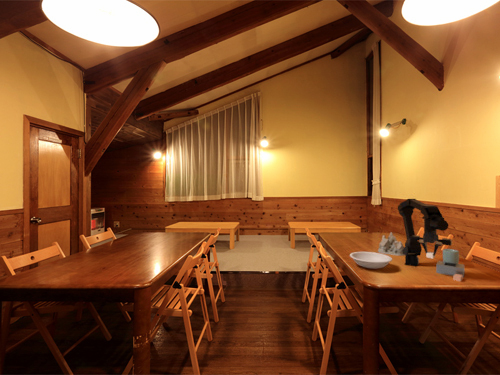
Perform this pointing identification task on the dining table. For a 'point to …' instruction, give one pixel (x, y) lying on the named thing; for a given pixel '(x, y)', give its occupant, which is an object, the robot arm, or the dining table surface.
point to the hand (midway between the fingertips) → (430, 255)
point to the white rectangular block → (430, 255)
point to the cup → (451, 256)
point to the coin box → (449, 268)
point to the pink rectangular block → (458, 277)
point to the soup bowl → (371, 259)
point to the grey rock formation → (391, 246)
